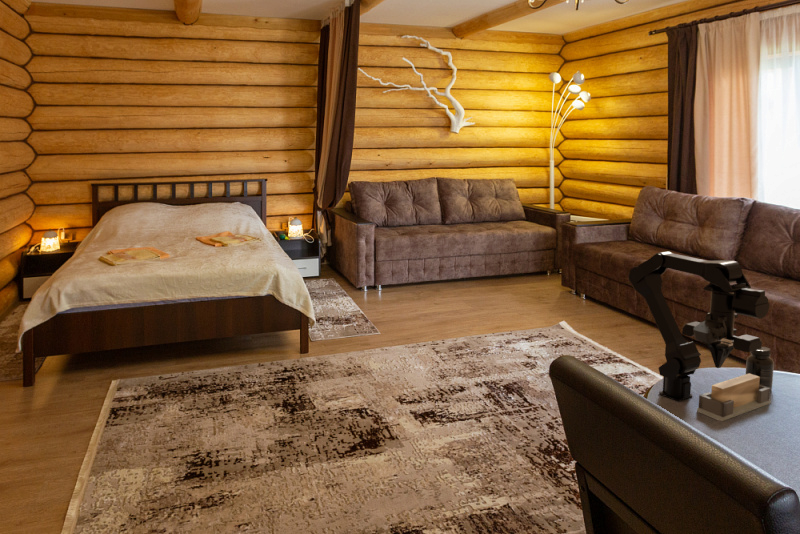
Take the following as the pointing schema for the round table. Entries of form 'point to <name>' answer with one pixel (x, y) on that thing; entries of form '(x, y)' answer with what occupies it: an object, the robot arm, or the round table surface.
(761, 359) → the supplement bottle
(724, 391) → the slat
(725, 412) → the slat rail
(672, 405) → the round table surface
